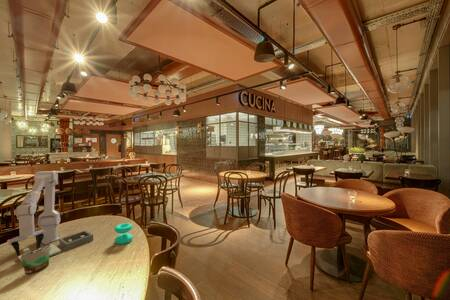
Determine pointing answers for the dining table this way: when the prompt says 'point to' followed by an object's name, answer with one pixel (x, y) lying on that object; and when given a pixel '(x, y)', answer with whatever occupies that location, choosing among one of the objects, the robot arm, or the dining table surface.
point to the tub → (75, 240)
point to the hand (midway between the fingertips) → (28, 252)
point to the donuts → (123, 237)
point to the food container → (36, 260)
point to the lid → (53, 251)
